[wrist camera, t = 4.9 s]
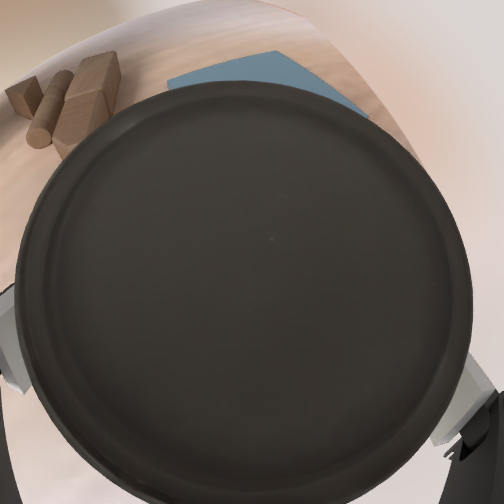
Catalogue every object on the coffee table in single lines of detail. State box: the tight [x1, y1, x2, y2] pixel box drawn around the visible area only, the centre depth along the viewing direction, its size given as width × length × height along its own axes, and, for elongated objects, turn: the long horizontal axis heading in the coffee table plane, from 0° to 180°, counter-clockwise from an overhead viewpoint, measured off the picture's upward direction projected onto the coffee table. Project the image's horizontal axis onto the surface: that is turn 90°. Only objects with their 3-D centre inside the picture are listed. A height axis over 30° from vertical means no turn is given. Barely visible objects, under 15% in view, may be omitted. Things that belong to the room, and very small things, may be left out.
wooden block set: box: [5, 51, 121, 160], centre depth 21 cm, size 17×6×18 cm
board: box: [167, 51, 369, 119], centre depth 27 cm, size 16×16×1 cm
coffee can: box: [14, 80, 473, 504], centre depth 11 cm, size 10×10×14 cm
